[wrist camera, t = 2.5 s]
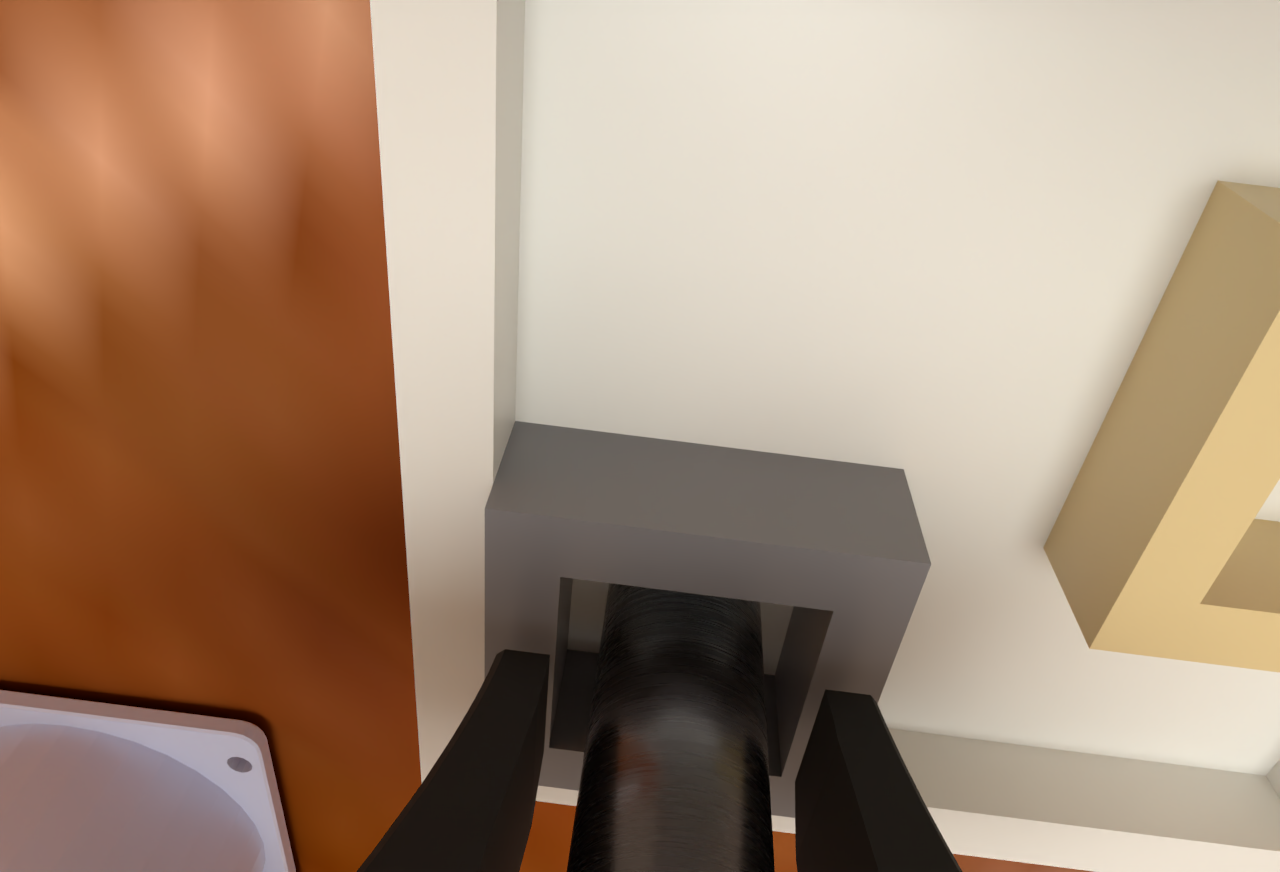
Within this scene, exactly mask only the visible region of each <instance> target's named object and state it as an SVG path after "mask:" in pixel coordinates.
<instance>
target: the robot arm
mask: <svg viewBox="0 0 1280 872" xmlns="http://www.w3.org/2000/svg"><path fill="white" fill-rule="evenodd" d="M549 662H550V655H548V654H540V653H532V652H524V651H516V650H508V649H505V650H503V651H501V652H499V653H497V654H496V656H495V659H494V661H493V663H492V666H491V668H490V670H489V672H488V674H487V676H486V678H485V680H484V682H483V684H482V686H481V688H480V690H479V692H478V694H477V695H476V697H475V699H474V701H473V703H472V704H471V706H470V708H469V710H468V711H467V713H466V715H465V717H464V718H463V720H462V722H461V723H460V725H459V727H458V728H457V730H456V732H455V733H454V735H453V737H452V738H451V740H450V741H449V743H448V744H447V746H446V747H445V749H444V751H443V752H442V754H441V755H440V757H439V758H438V760H437V761H436V763H435V764H434V766H433V767H432V769H431V770H430V772H429V773H428V775H427V777H426V778H425V780H424V781H423V783H422V784H421V786H420V787H419V788H418V790H417V791H416V793H415V794H414V796H413V797H412V799H411V800H410V801H409V803H408V804H407V805H406V807H405V808H404V809H403V811H402V812H401V813H400V815H399V816H398V818H397V819H396V820H395V822H394V823H393V824H392V826H391V827H390V828H389V830H388V831H387V833H386V834H385V835H384V837H383V838H382V839H381V841H380V842H379V843H378V845H377V846H376V847H375V849H374V850H373V851H372V853H371V854H370V855H369V856H368V858H367V859H366V860H365V862H364V863H363V864H362V865H361V867H360V868H359V869H358V870H357V872H519V870H520V866H521V862H522V859H523V855H524V851H525V847H526V844H527V840H528V836H529V832H530V828H531V824H532V818H533V813H534V807H535V801H536V795H537V789H538V783H539V777H540V771H541V765H542V759H543V754H544V743H545V727H546V711H547V695H548V679H549ZM795 833H796V862H797V871H798V872H962V870H961V869H960V867H959V865H958V863H957V861H956V860H955V858H954V856H953V854H952V852H951V851H950V849H949V847H948V845H947V843H946V842H945V840H944V838H943V836H942V834H941V832H940V831H939V829H938V827H937V825H936V823H935V822H934V820H933V818H932V816H931V814H930V812H929V810H928V808H927V806H926V805H925V803H924V801H923V799H922V797H921V795H920V793H919V791H918V789H917V787H916V785H915V783H914V781H913V779H912V777H911V775H910V773H909V771H908V769H907V767H906V765H905V763H904V761H903V759H902V757H901V755H900V752H899V750H898V748H897V746H896V744H895V742H894V740H893V738H892V736H891V733H890V731H889V729H888V727H887V725H886V722H885V720H884V718H883V716H882V713H881V711H880V709H879V707H878V704H877V702H876V701H875V700H874V698H873V697H872V696H871V695H866V694H859V693H851V692H843V691H835V690H827V689H825V692H824V695H823V698H822V701H821V704H820V707H819V710H818V713H817V716H816V719H815V722H814V725H813V728H812V731H811V734H810V737H809V740H808V743H807V746H806V749H805V752H804V755H803V758H802V762H801V765H800V768H799V771H798V774H797V777H796V780H795ZM0 872H296V869H295V864H294V859H293V855H292V850H291V846H290V841H289V837H288V832H287V828H286V823H285V818H284V814H283V809H282V805H281V800H280V796H279V791H278V787H277V782H276V778H275V773H274V768H273V764H272V759H271V755H270V750H269V746H268V741H267V738H266V736H265V734H264V732H263V731H262V730H261V729H260V728H259V727H258V726H256V725H254V724H252V723H250V722H247V721H243V720H237V719H229V718H221V717H213V716H205V715H197V714H189V713H181V712H173V711H165V710H157V709H149V708H141V707H134V706H126V705H118V704H110V703H102V702H94V701H86V700H78V699H70V698H62V697H54V696H46V695H38V694H30V693H22V692H15V691H7V690H0Z"/></svg>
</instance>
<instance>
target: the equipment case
mask: <svg viewBox="0 0 1280 872" xmlns="http://www.w3.org/2000/svg"><path fill="white" fill-rule="evenodd" d="M370 10H371V25H372V40H373V55H374V70H375V86H376V101H377V116H378V131H379V146H380V161H381V176H382V192H383V207H384V222H385V237H386V252H387V267H388V282H389V298H390V313H391V328H392V343H393V358H394V373H395V388H396V404H397V419H398V434H399V449H400V464H401V479H402V494H403V510H404V525H405V540H406V555H407V570H408V585H409V600H410V616H411V631H412V646H413V661H414V676H415V691H416V706H417V722H418V737H419V752H420V767H421V782H422V783H423V781H424V780H425V778H426V777H427V775H428V773H429V772H430V770H431V769H432V767H433V766H434V764H435V763H436V761H437V760H438V758H439V757H440V755H441V754H442V752H443V751H444V749H445V747H446V746H447V744H448V743H449V741H450V740H451V738H452V737H453V735H454V733H455V732H456V730H457V728H458V727H459V725H460V723H461V722H462V720H463V718H464V717H465V715H466V713H467V711H468V710H469V708H470V706H471V704H472V703H473V701H474V699H475V697H476V695H477V694H478V692H479V690H480V688H481V686H482V684H483V682H484V680H485V678H486V676H487V674H488V672H489V670H490V668H491V666H492V663H493V661H494V659H495V656H496V654H497V653H499V652H501V651H503V650H505V649H508V650H516V651H524V652H532V653H540V654H548V655H550V662H549V679H548V695H547V711H546V727H545V743H544V754H543V759H542V765H541V771H540V777H539V783H538V789H537V795H536V801H541V802H549V803H556V804H564V805H572V806H577V799H578V792H579V785H580V778H581V772H582V765H583V758H584V751H585V744H586V738H587V731H588V724H589V717H590V710H591V704H592V697H593V690H594V683H595V676H596V670H597V663H598V656H599V649H600V642H601V636H602V629H603V622H604V615H605V608H606V602H607V595H608V588H609V583H613V584H621V585H629V586H637V587H645V588H653V589H661V590H669V591H677V592H685V593H693V594H701V595H709V596H717V597H725V598H733V599H741V600H749V601H757V602H760V609H761V628H762V647H763V665H764V684H765V703H766V722H767V740H768V759H769V778H770V797H771V816H772V831H778V832H786V833H794V834H796V833H795V780H796V777H797V774H798V771H799V768H800V765H801V762H802V758H803V755H804V752H805V749H806V746H807V743H808V740H809V737H810V734H811V731H812V728H813V725H814V722H815V719H816V716H817V713H818V710H819V707H820V704H821V701H822V698H823V695H824V692H825V689H827V690H835V691H843V692H851V693H859V694H866V695H871V696H872V697H873V698H874V700H875V701H876V702H877V704H878V707H879V709H880V711H881V713H882V716H883V718H884V720H885V722H886V725H887V727H888V729H889V731H890V733H891V736H892V738H893V740H894V742H895V744H896V746H897V748H898V750H899V752H900V755H901V757H902V759H903V761H904V763H905V765H906V767H907V769H908V771H909V773H910V775H911V777H912V779H913V781H914V783H915V785H916V787H917V789H918V791H919V793H920V795H921V797H922V799H923V801H924V803H925V805H926V806H927V808H928V810H929V812H930V814H931V816H932V818H933V820H934V822H935V823H936V825H937V827H938V829H939V831H940V832H941V834H942V836H943V838H944V840H945V842H946V843H947V845H948V847H949V849H950V851H951V852H952V854H960V855H968V856H976V857H984V858H992V859H1000V860H1008V861H1016V862H1024V863H1032V864H1040V865H1047V866H1055V867H1063V868H1071V869H1079V870H1087V871H1095V872H1280V0H370Z"/></svg>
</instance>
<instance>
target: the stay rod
mask: <svg viewBox="0 0 1280 872" xmlns="http://www.w3.org/2000/svg"><path fill="white" fill-rule="evenodd" d="M567 872H774V853H773V834H772V816H771V797H770V778H769V759H768V740H767V722H766V703H765V684H764V665H763V647H762V628H761V609H760V602H757V601H749V600H741V599H733V598H725V597H717V596H709V595H701V594H693V593H685V592H677V591H669V590H661V589H653V588H645V587H637V586H629V585H621V584H613V583H609V588H608V595H607V602H606V608H605V615H604V622H603V629H602V636H601V642H600V649H599V656H598V663H597V670H596V676H595V683H594V690H593V697H592V704H591V710H590V717H589V724H588V731H587V738H586V744H585V751H584V758H583V765H582V772H581V778H580V785H579V792H578V799H577V806H576V812H575V819H574V826H573V833H572V840H571V846H570V853H569V860H568V867H567Z"/></svg>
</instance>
